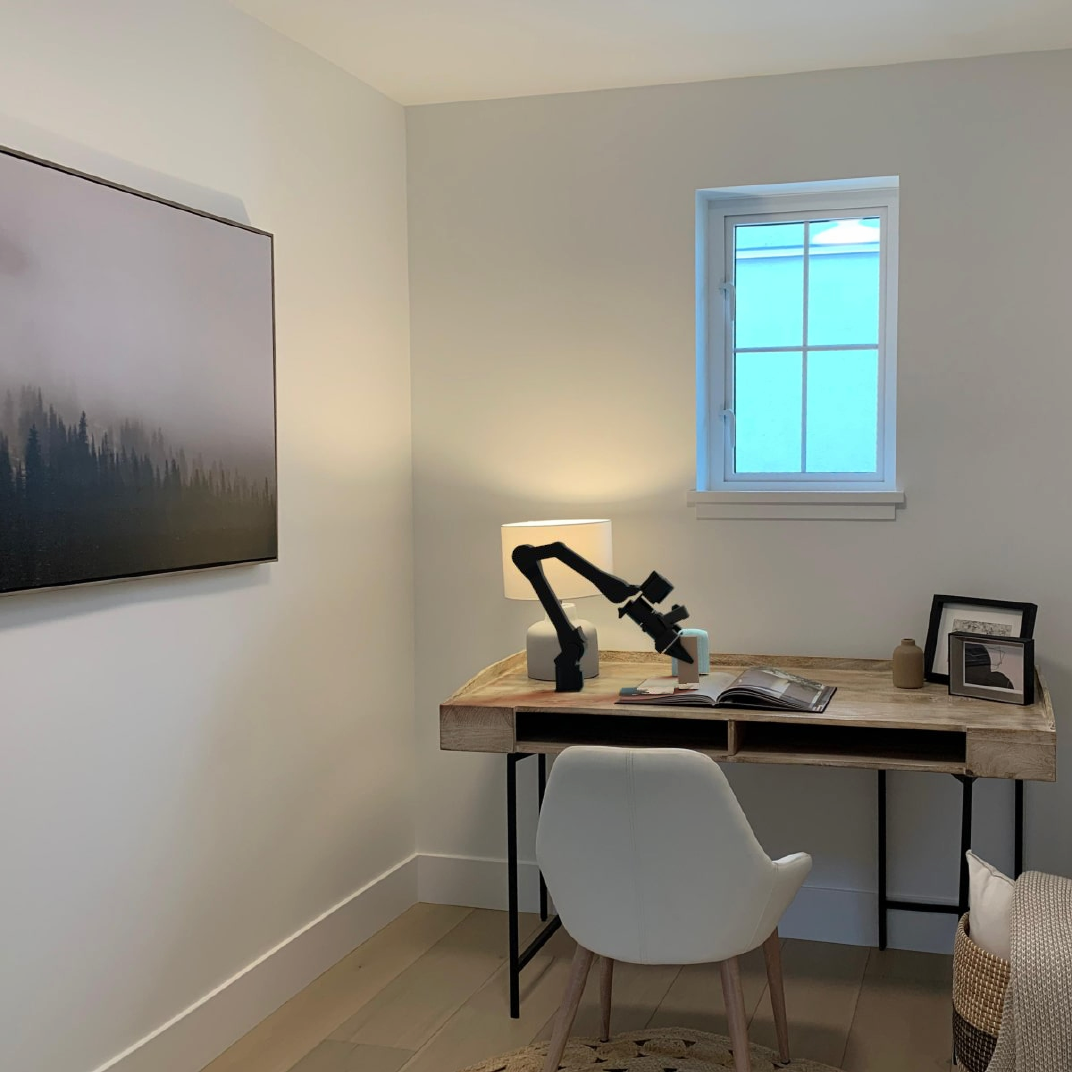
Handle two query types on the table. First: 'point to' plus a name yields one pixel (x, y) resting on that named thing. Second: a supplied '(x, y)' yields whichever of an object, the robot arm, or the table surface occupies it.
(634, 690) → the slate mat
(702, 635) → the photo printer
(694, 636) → the beige rectangular block
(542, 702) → the table surface
